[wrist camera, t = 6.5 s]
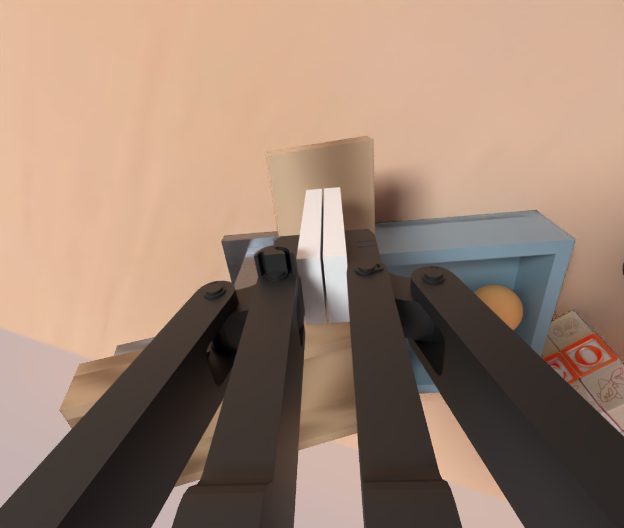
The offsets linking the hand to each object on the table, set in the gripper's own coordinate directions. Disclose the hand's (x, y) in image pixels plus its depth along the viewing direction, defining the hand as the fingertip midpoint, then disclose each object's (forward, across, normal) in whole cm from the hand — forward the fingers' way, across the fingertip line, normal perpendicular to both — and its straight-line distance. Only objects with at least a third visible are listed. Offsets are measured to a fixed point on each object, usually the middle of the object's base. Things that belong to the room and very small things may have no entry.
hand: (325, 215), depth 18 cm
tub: (+10, +9, -12) cm, 18 cm away
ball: (+7, +12, -12) cm, 19 cm away
